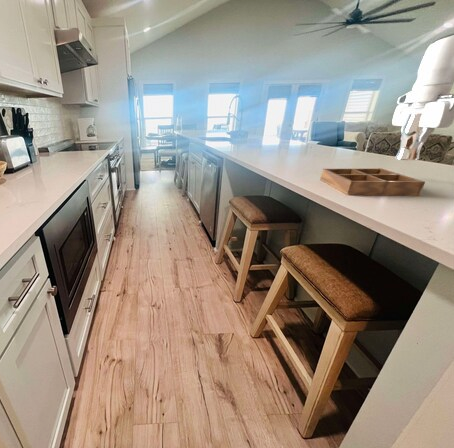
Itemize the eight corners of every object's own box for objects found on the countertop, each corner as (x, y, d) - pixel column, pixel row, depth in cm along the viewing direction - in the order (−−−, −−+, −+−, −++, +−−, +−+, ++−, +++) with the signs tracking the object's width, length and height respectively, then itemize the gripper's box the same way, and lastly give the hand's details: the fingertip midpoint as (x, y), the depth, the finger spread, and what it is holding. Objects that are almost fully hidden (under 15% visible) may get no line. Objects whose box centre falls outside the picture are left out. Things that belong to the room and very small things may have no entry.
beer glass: (402, 161, 83) (419, 113, 77) (388, 157, 89) (402, 113, 83) (425, 160, 82) (444, 112, 76) (409, 157, 88) (426, 112, 82)
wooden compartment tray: (377, 179, 90) (381, 168, 88) (419, 195, 72) (425, 181, 71) (320, 179, 93) (322, 168, 91) (347, 194, 76) (351, 181, 74)
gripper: (473, 92, 68) (451, 143, 73) (415, 97, 86) (401, 137, 92) (446, 94, 69) (426, 144, 74) (394, 98, 87) (382, 138, 93)
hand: (412, 140), depth 83 cm, fingers closed on beer glass, 6 cm apart
